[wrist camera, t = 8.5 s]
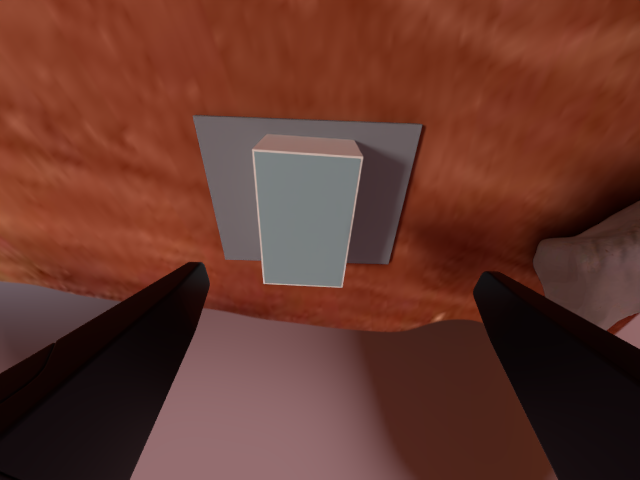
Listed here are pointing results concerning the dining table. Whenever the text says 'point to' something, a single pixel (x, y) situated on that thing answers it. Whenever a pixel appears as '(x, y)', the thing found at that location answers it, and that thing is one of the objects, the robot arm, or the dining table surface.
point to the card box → (305, 207)
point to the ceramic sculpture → (595, 269)
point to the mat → (246, 132)
